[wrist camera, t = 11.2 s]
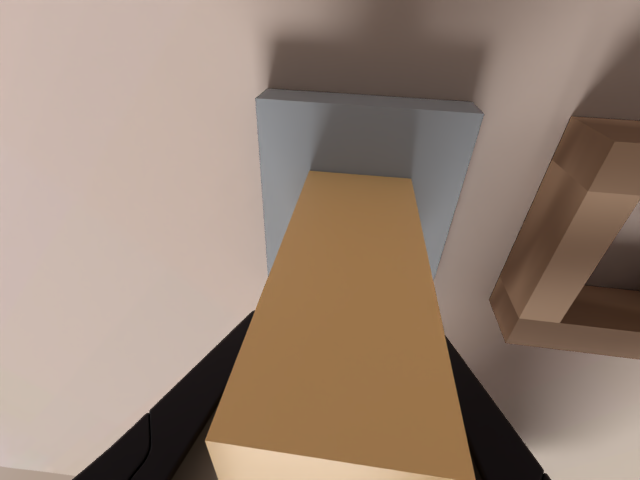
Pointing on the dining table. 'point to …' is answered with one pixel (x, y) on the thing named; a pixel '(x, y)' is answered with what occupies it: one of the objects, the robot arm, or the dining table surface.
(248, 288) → the dining table surface
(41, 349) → the dining table surface
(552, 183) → the brown square frame
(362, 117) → the grey rubber mat
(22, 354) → the dining table surface
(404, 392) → the amber plug
